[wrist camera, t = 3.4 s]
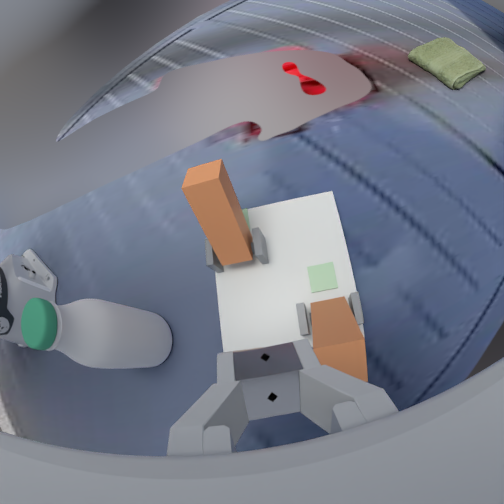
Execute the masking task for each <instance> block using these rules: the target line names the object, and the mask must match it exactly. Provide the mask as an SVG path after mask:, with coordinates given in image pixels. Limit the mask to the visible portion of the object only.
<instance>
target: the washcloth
mask: <svg viewBox="0 0 504 504" xmlns="http://www.w3.org/2000/svg"><path fill="white" fill-rule="evenodd" d="M408 58H409V60H411V61H413V62H414V63H416V64H417V65H419V66H420V67H422V68H423V69H424V70H425V71H429V72H430V73H432V74H433V75H435V76H436V77H437V78H438V79H439V80H440V81H442V82H443V83H444V84H446V85H447V86H448V87H449V88H451V89H456V88H457V89H460V88H461V87H463V85H464V84H465V83H466V82H468V81H469V80H470V79H471V78H473V77H475V75H477V74H479V73H480V72H481V71H485V70H486V68H485V66H484V65H483V64H482V63H481V62H480V61H479V60H478V59H476V58H475V57H474V56H472V55H471V54H470V53H469V52H468V51H467V50H466V49H464V48H463V47H461V46H458V45H457V44H455V43H454V42H453V41H452V40H451V39H449V38H445V37H444V38H437V39H435V40H433V41H430V42H428V43H426V44H424V45H420V46H419V47H417V48H415V49H413V50H412V51H411V52H410V53H409V54H408Z"/></svg>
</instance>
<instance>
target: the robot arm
mask: <svg viewBox="0 0 504 504" xmlns="http://www.w3.org/2000/svg"><path fill="white" fill-rule="evenodd" d="M56 287H57V277H56V276H55V275H54V274H53V273H52V272H51V270H50V269H49V268H48V267H47V266H46V265H45V264H44V263H43V261H42V260H41V259H40V258H39V257H38V256H37V254H36V253H35V252H34V251H33V250H32V249H28V250H27V251H25V252H24V253H23V255H22V256H21V257H20V256H18V255H14V254H11V255H8V256H7V257H6V258H5V259H4V260H3V261H2V262H1V263H0V338H1V339H4V340H7V341H10V342H14V343H18V346H20V347H27V346H28V345H27V344H26V343H25V341H24V338H23V335H22V331H21V317H22V312H23V309H24V307H25V305H26V303H27V302H28V301H29V300H30V299H32V298H41V299H45V300H47V301H52V302H54V303H55V292H56ZM28 347H29V346H28ZM300 411H301V413H302V414H303V415H305V416H306V417H307V418H309V419H310V420H311V421H313V422H314V423H316V424H317V425H318V426H320V427H321V428H322V429H324V430H325V431H327V432H328V433H329V434H330V435H326V436H322V437H318V438H314V439H310V440H306V441H301V442H297V443H292V444H287V445H282V446H276V447H270V448H264V449H258V450H251V451H243V452H237V451H236V448H235V445H236V444H237V442H238V440H239V439H240V437H241V435H242V433H243V432H244V430H245V428H246V427H247V425H248V423H249V421H250V420H256V419H261V418H267V417H272V416H278V415H284V414H289V413H295V412H300ZM0 504H504V357H503V358H502V359H500V360H499V361H497V362H495V363H494V364H492V365H491V366H489V367H487V368H486V369H484V370H483V371H481V372H479V373H477V374H476V375H474V376H472V377H471V378H469V379H467V380H465V381H463V382H461V383H460V384H458V385H456V386H454V387H452V388H450V389H448V390H446V391H444V392H442V393H440V394H438V395H436V396H434V397H432V398H430V399H428V400H425V401H423V402H421V403H419V404H416V405H414V406H412V407H409V408H407V409H405V410H402V411H400V412H399V411H398V409H397V408H396V406H395V405H394V403H393V402H392V400H391V399H390V398H389V396H388V395H387V393H386V392H385V390H384V389H382V388H380V387H377V386H375V385H372V384H370V383H367V382H365V381H362V380H360V379H358V378H355V377H353V376H351V375H348V374H346V373H344V372H341V371H339V370H337V369H334V368H332V367H330V366H327V365H321V364H320V362H319V360H318V358H317V356H316V355H315V353H314V351H313V349H312V347H311V345H310V343H309V341H308V339H306V338H305V339H301V340H297V341H292V342H289V343H284V344H279V345H273V346H268V347H260V348H253V349H245V350H238V351H233V352H232V351H229V352H222V353H218V354H217V384H212V385H211V386H210V387H209V389H208V390H207V391H206V392H205V393H204V394H203V395H202V396H201V397H200V398H199V399H198V400H197V401H196V402H195V403H194V404H193V405H192V406H191V407H190V408H189V409H188V410H187V411H186V412H185V414H184V415H183V416H182V417H181V418H180V419H179V420H178V421H177V422H176V423H175V424H174V425H173V426H172V427H171V428H170V434H169V441H168V449H167V456H136V455H120V454H109V453H100V452H92V451H84V450H78V449H72V448H66V447H61V446H56V445H51V444H46V443H42V442H38V441H33V440H30V439H26V438H22V437H18V436H15V435H12V434H8V433H5V432H2V431H0Z"/></svg>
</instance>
